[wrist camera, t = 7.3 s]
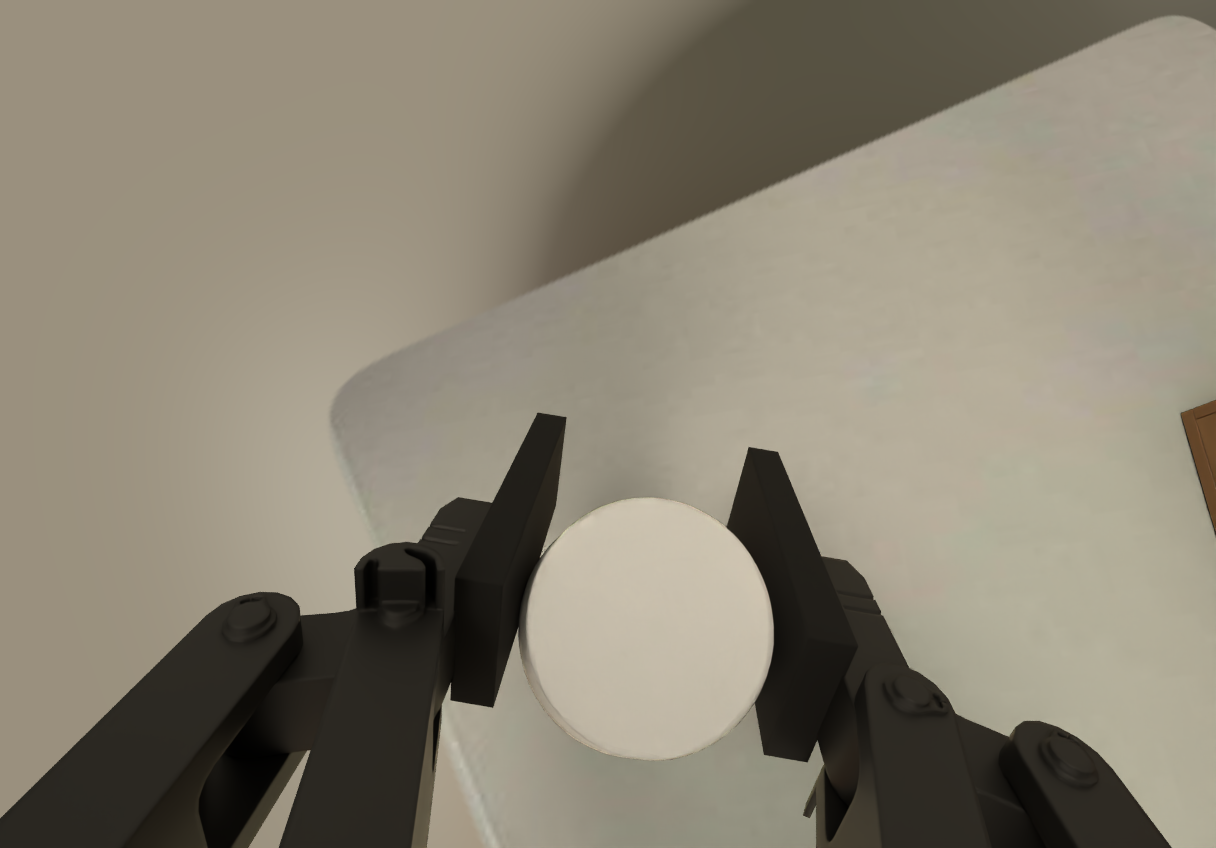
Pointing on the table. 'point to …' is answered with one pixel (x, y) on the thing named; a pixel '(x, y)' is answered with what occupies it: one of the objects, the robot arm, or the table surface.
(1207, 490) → the carton
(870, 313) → the table surface
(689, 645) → the pill bottle
